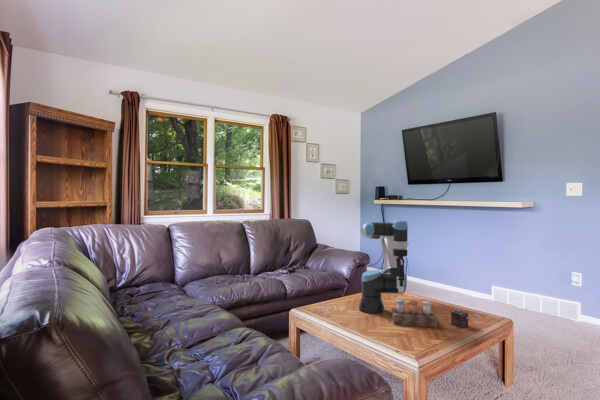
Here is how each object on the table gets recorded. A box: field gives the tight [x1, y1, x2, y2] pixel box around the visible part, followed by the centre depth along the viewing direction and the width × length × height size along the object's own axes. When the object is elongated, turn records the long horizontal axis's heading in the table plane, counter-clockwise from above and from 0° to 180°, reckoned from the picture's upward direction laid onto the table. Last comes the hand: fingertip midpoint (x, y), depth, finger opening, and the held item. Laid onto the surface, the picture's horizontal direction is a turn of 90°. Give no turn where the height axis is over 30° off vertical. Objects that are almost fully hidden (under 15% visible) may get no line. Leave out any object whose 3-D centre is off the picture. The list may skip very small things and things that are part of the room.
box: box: [450, 309, 469, 329], centre depth 177 cm, size 6×6×7 cm
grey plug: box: [395, 298, 406, 314], centre depth 183 cm, size 5×5×8 cm
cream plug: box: [421, 300, 432, 315], centre depth 180 cm, size 5×5×8 cm
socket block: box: [391, 308, 438, 328], centre depth 181 cm, size 22×11×5 cm, turn 79°
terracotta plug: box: [408, 299, 419, 315], centre depth 181 cm, size 5×5×8 cm
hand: (400, 290), depth 183 cm, fingers open, 8 cm apart
